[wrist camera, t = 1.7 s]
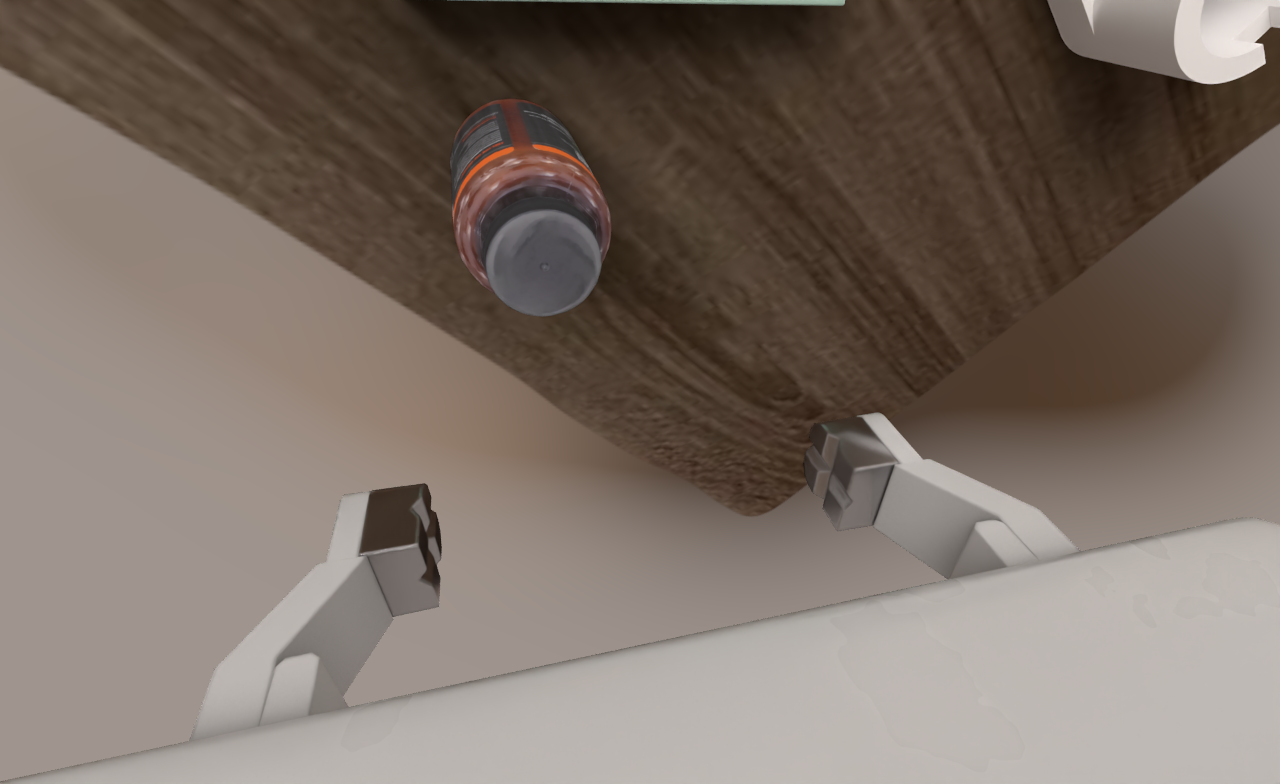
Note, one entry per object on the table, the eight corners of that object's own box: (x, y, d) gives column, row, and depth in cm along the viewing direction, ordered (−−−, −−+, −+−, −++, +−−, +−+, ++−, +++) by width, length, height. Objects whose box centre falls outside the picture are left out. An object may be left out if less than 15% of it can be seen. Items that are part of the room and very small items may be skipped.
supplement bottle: (436, 199, 29) (430, 318, 21) (470, 72, 26) (479, 149, 18) (553, 236, 32) (591, 356, 23) (595, 125, 29) (656, 214, 20)
